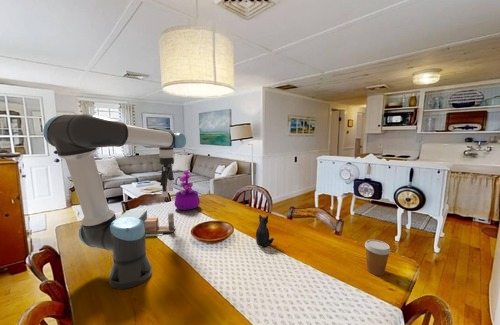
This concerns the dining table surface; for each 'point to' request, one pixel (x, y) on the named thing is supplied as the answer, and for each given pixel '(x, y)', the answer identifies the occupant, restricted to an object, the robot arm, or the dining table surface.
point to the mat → (154, 234)
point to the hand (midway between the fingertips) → (168, 193)
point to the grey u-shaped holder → (154, 227)
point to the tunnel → (136, 214)
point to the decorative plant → (186, 194)
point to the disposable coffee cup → (377, 256)
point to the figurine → (263, 232)
